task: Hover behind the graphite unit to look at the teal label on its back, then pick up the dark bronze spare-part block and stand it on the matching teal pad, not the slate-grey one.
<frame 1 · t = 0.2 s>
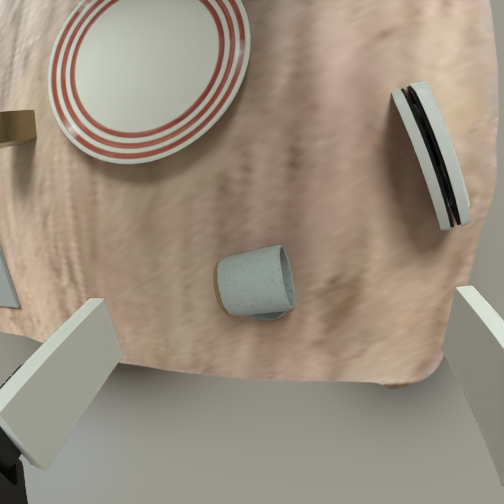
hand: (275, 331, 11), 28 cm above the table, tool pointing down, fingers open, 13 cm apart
ceramic mug: (264, 277, 42), on the table
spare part: (26, 127, 37), on the table
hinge: (424, 152, 33), on the table
dinner plate: (144, 57, 33), on the table
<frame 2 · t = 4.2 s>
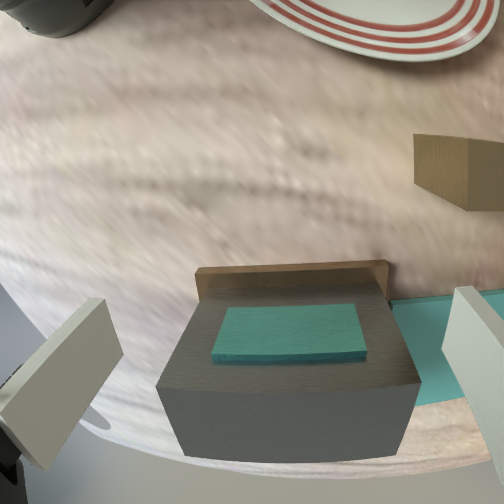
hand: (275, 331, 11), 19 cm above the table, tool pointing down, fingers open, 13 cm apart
teal pad: (443, 352, 32), on the table
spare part: (435, 159, 25), on the table
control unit: (293, 314, 32), on the table
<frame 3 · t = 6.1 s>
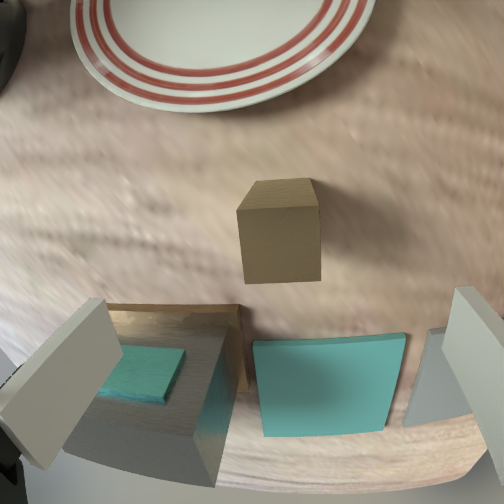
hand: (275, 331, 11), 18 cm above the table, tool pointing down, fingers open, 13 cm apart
teal pad: (327, 391, 35), on the table
grey pad: (468, 372, 32), on the table
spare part: (284, 205, 27), on the table
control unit: (167, 345, 35), on the table
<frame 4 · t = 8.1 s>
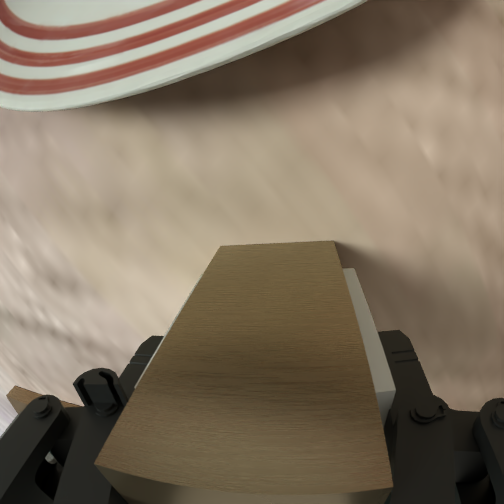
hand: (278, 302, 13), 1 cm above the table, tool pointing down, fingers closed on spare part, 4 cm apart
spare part: (279, 293, 14), on the table, touching gripper
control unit: (115, 451, 21), on the table
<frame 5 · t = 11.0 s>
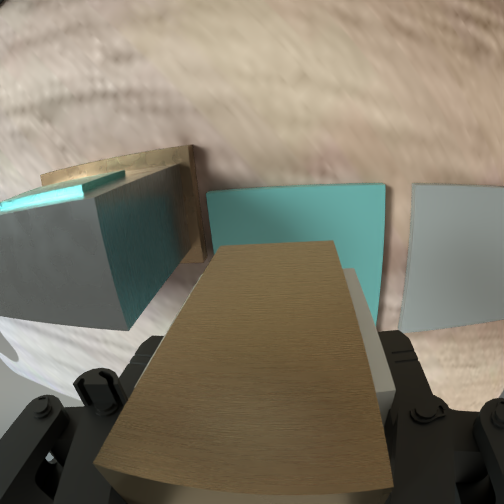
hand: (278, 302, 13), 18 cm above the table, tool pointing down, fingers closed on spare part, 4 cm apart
teal pad: (299, 267, 31), on the table
grey pad: (471, 258, 29), on the table
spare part: (279, 293, 13), point 17 cm above the table, touching gripper
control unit: (118, 210, 31), on the table
when the fingers open (3 cm above the table, at t = 13.8 s): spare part drops 1 cm, resting on teal pad.
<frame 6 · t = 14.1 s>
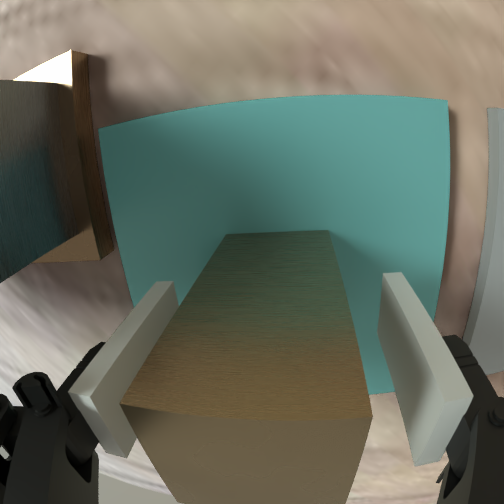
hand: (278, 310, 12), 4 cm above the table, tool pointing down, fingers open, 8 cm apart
teal pad: (282, 269, 16), on the table
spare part: (279, 278, 15), point 1 cm above the table, touching teal pad
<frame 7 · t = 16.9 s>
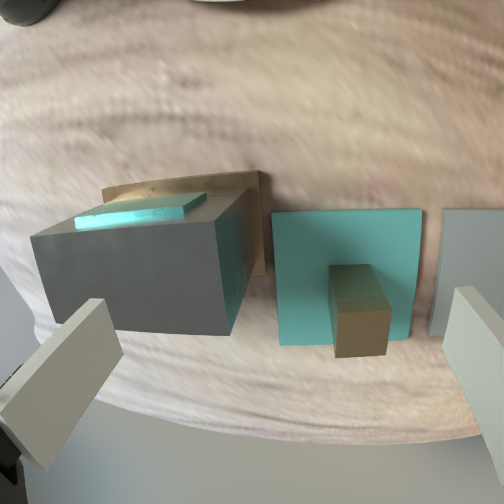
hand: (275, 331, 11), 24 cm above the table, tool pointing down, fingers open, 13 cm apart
teal pad: (347, 280, 35), on the table
grey pad: (488, 271, 32), on the table
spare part: (348, 283, 34), point 1 cm above the table, touching teal pad
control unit: (182, 226, 35), on the table
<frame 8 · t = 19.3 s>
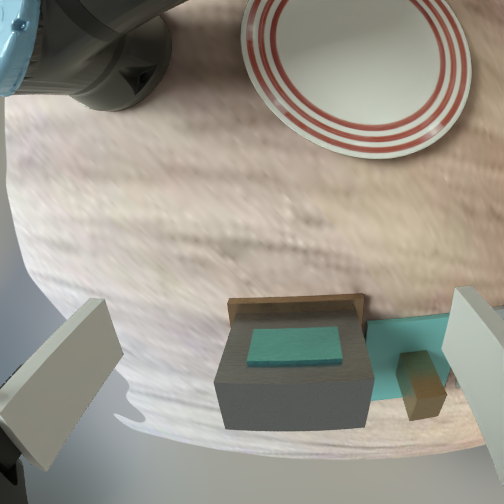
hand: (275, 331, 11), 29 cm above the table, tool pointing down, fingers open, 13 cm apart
teal pad: (409, 358, 44), on the table
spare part: (410, 362, 43), point 1 cm above the table, touching teal pad
dinner plate: (360, 47, 30), on the table
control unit: (296, 330, 45), on the table
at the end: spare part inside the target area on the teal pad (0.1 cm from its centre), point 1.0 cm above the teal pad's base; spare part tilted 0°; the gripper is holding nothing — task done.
